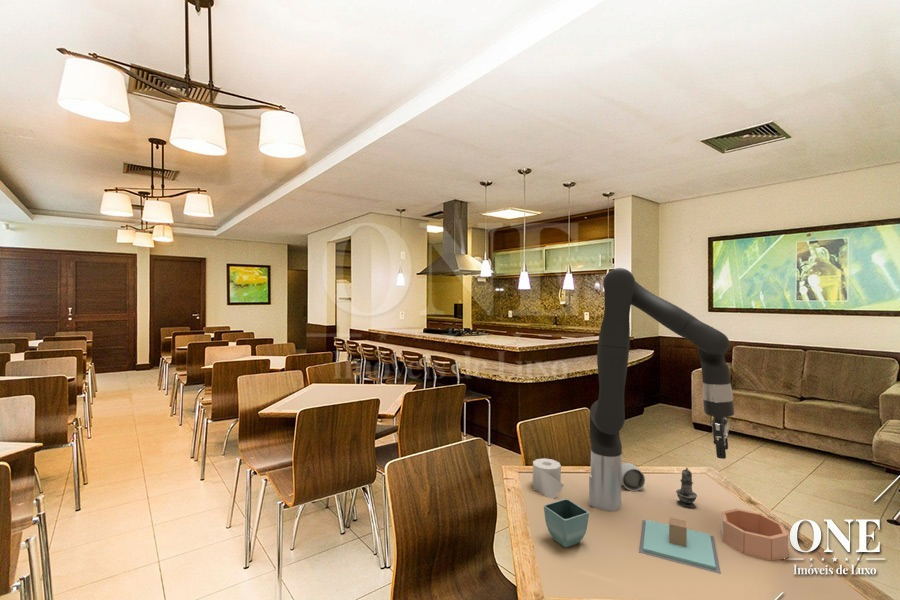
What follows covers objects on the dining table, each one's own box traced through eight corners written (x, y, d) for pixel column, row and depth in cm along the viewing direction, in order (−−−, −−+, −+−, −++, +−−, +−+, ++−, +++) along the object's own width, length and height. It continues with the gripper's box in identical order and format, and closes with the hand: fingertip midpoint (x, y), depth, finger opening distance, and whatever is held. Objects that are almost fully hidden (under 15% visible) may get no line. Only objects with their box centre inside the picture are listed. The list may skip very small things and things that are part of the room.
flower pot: (564, 554, 109) (565, 520, 109) (542, 537, 117) (542, 504, 117) (589, 545, 113) (590, 512, 113) (566, 529, 121) (566, 498, 121)
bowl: (724, 551, 111) (725, 528, 111) (719, 525, 124) (719, 505, 124) (791, 567, 105) (792, 543, 105) (778, 538, 117) (779, 517, 117)
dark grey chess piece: (691, 500, 139) (692, 464, 139) (700, 509, 133) (701, 471, 133) (672, 499, 140) (673, 463, 139) (680, 508, 134) (681, 470, 134)
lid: (643, 551, 110) (643, 529, 110) (646, 522, 124) (646, 502, 124) (715, 570, 103) (716, 546, 103) (709, 536, 117) (710, 515, 117)
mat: (638, 554, 110) (638, 552, 110) (642, 521, 126) (642, 519, 126) (720, 575, 102) (720, 573, 102) (713, 537, 118) (713, 536, 118)
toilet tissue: (555, 502, 137) (555, 475, 137) (527, 486, 148) (527, 461, 148) (574, 495, 142) (575, 469, 142) (545, 480, 153) (546, 456, 153)
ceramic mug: (636, 481, 153) (636, 460, 153) (645, 491, 145) (645, 469, 145) (606, 480, 154) (606, 459, 154) (613, 491, 146) (613, 468, 146)
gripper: (705, 392, 133) (710, 444, 133) (700, 402, 122) (705, 459, 121) (734, 394, 129) (739, 447, 128) (731, 404, 117) (736, 463, 117)
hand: (722, 453), depth 125 cm, fingers open, 8 cm apart
